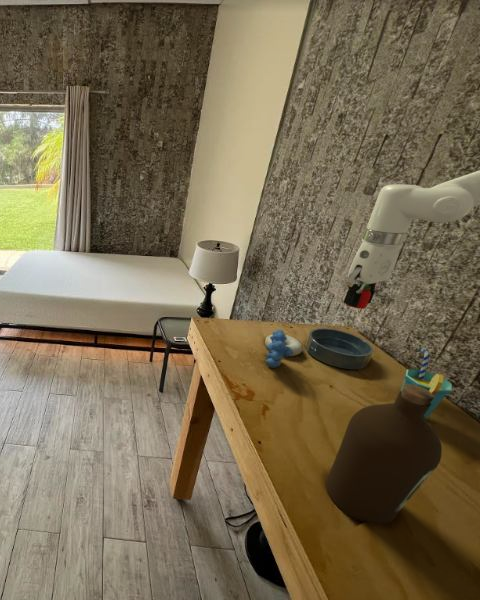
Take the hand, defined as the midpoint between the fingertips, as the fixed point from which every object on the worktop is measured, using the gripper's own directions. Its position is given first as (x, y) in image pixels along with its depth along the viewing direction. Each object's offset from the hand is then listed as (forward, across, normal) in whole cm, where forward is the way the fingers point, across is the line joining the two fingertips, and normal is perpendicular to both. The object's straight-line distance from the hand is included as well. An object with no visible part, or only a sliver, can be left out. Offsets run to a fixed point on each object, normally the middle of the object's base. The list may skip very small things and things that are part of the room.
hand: (356, 302), depth 86 cm
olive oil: (+19, -39, -30) cm, 53 cm away
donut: (+19, -10, +10) cm, 23 cm away
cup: (+19, -6, -21) cm, 29 cm away
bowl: (+19, +2, +1) cm, 19 cm away
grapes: (+19, -20, +4) cm, 28 cm away
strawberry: (+1, 0, 0) cm, 1 cm away
